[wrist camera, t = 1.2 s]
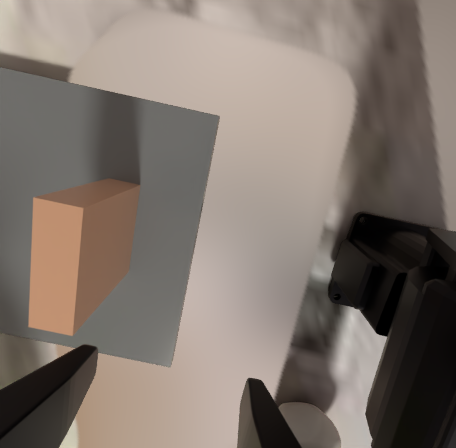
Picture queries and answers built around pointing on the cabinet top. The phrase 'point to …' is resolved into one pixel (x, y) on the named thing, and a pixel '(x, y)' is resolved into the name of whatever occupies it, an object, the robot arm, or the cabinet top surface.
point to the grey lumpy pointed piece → (310, 425)
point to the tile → (79, 251)
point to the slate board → (95, 171)
